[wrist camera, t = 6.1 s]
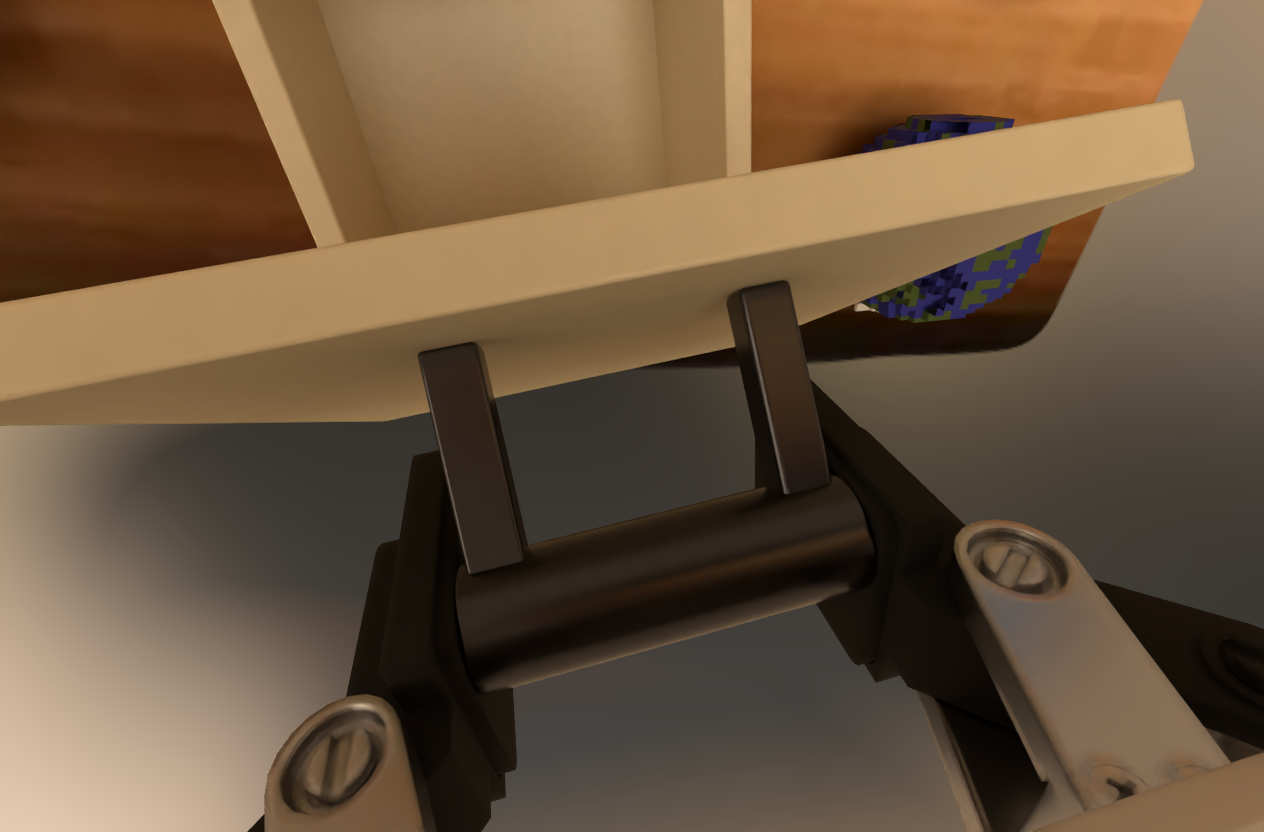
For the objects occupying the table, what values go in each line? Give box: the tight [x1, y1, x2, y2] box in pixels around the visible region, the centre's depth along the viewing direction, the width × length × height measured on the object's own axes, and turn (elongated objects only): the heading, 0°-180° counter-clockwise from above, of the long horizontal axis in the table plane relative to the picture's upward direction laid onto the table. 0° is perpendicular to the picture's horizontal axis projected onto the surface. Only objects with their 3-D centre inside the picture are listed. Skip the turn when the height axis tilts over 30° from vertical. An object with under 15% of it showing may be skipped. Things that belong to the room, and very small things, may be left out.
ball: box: [854, 114, 1052, 323], centre depth 24 cm, size 8×8×8 cm
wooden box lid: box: [0, 99, 1195, 695], centre depth 12 cm, size 13×13×5 cm
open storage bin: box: [212, 0, 752, 248], centre depth 19 cm, size 13×13×8 cm
